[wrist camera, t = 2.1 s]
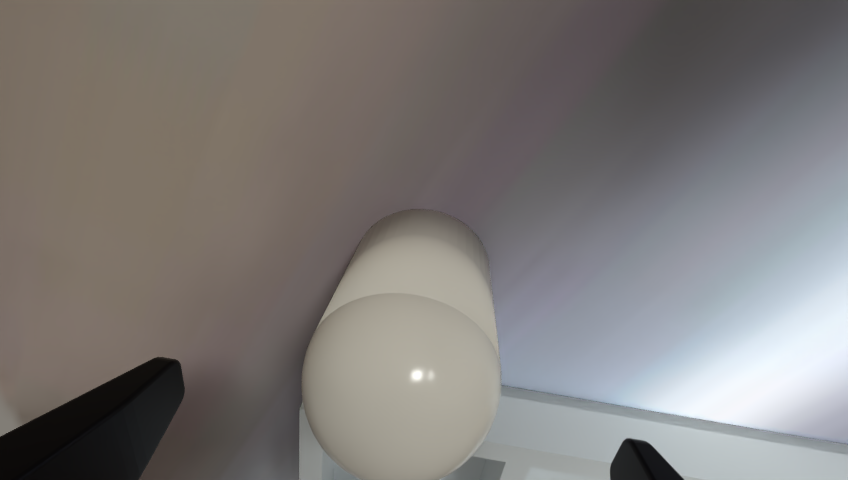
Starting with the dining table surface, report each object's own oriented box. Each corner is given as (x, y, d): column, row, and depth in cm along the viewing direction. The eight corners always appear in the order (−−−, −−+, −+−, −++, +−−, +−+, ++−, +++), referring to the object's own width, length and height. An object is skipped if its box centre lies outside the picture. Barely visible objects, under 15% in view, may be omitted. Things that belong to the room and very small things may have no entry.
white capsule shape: (503, 221, 12) (541, 397, 6) (475, 335, 14) (482, 553, 8) (359, 198, 13) (261, 349, 6) (351, 315, 15) (269, 515, 8)
